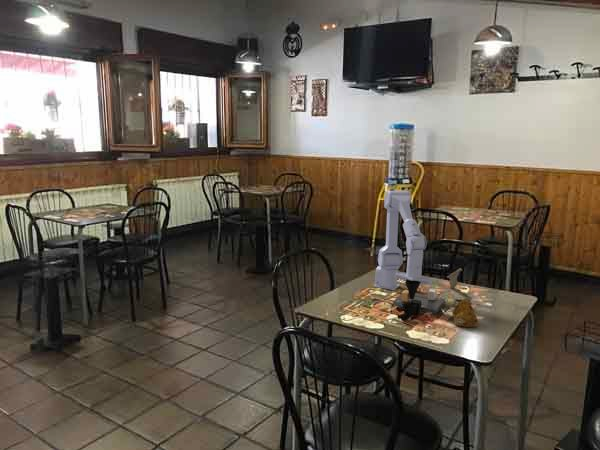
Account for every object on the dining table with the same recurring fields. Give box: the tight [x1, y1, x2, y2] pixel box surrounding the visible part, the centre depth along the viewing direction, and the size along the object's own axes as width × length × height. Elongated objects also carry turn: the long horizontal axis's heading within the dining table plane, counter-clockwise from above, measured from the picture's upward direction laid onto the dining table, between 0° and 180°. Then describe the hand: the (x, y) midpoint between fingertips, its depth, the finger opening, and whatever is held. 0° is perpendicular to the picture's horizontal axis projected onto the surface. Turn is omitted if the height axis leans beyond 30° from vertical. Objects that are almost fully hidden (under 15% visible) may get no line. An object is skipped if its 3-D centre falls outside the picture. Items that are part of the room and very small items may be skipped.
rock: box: [452, 300, 479, 328], centre depth 174 cm, size 11×8×10 cm
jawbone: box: [447, 267, 472, 302], centre depth 204 cm, size 14×8×15 cm
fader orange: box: [400, 289, 410, 302], centre depth 191 cm, size 2×4×4 cm, turn 150°
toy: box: [395, 300, 422, 321], centre depth 178 cm, size 15×5×7 cm, turn 142°
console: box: [392, 293, 446, 315], centre depth 193 cm, size 17×15×2 cm
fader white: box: [427, 288, 438, 300], centre depth 194 cm, size 2×4×4 cm, turn 150°
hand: (412, 298), depth 190 cm, fingers closed
